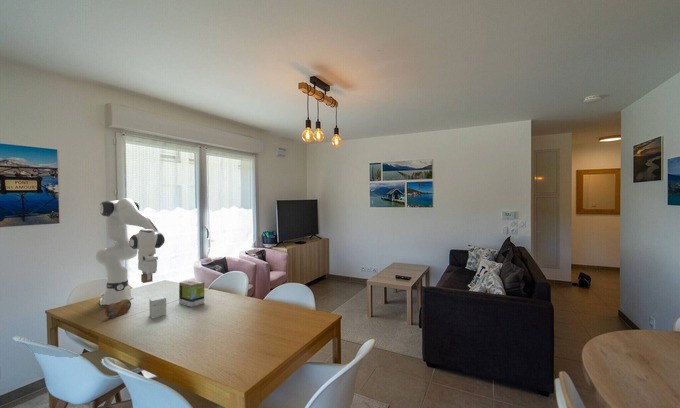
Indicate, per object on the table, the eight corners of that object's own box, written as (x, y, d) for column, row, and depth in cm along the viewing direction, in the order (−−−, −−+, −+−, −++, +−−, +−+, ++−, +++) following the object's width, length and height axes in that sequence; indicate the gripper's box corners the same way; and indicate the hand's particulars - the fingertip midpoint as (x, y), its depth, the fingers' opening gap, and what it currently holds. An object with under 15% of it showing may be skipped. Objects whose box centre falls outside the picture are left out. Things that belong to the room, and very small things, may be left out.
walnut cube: (141, 281, 172) (141, 274, 172) (149, 280, 176) (149, 272, 176) (143, 283, 170) (143, 275, 170) (152, 281, 173) (152, 274, 173)
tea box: (204, 303, 198) (205, 281, 198) (190, 307, 190) (190, 285, 190) (192, 299, 206) (192, 278, 206) (178, 303, 198) (178, 282, 198)
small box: (164, 312, 181) (164, 295, 181) (166, 314, 177) (166, 297, 177) (149, 315, 175) (149, 298, 175) (151, 318, 171) (151, 300, 171)
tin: (108, 319, 169) (108, 305, 169) (103, 319, 170) (103, 305, 170) (131, 310, 184) (131, 297, 184) (127, 310, 185) (127, 297, 185)
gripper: (135, 254, 177) (135, 277, 177) (146, 258, 164) (146, 282, 164) (146, 253, 182) (146, 275, 182) (159, 257, 169) (159, 280, 169)
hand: (146, 278), depth 173 cm, fingers closed on walnut cube, 4 cm apart
